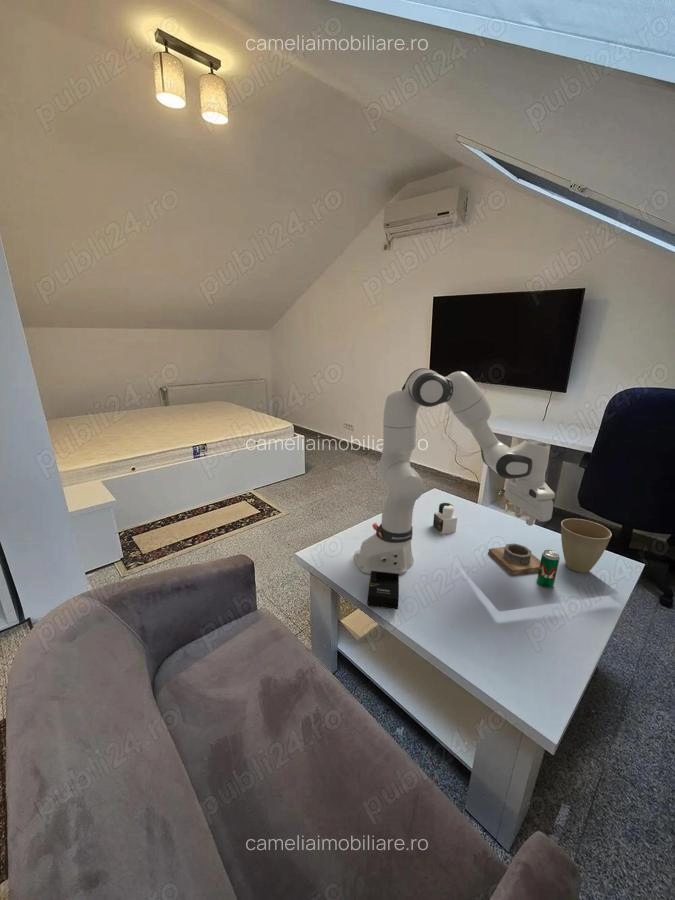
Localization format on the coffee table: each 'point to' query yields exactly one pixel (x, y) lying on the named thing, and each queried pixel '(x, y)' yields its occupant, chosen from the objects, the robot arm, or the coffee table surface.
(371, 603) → the battery charger
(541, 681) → the coffee table surface
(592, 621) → the coffee table surface
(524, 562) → the socket block
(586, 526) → the plant pot
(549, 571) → the soda can
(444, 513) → the white boxy device
